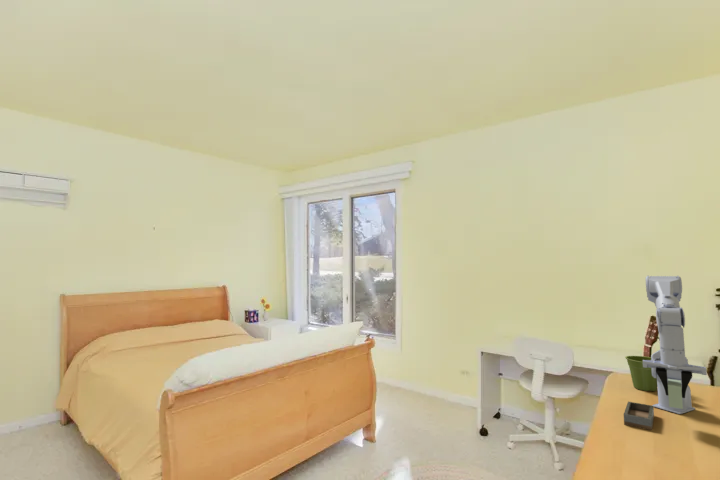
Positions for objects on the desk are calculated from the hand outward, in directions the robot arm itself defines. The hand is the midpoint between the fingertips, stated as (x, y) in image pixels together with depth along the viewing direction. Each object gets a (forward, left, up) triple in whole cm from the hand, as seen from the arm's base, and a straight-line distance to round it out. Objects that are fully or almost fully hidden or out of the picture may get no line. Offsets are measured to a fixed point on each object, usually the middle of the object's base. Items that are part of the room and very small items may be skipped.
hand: (675, 395), depth 113 cm
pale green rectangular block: (0, 0, -2) cm, 2 cm away
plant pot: (-31, -25, -9) cm, 40 cm away
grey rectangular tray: (+4, -8, -9) cm, 13 cm away
